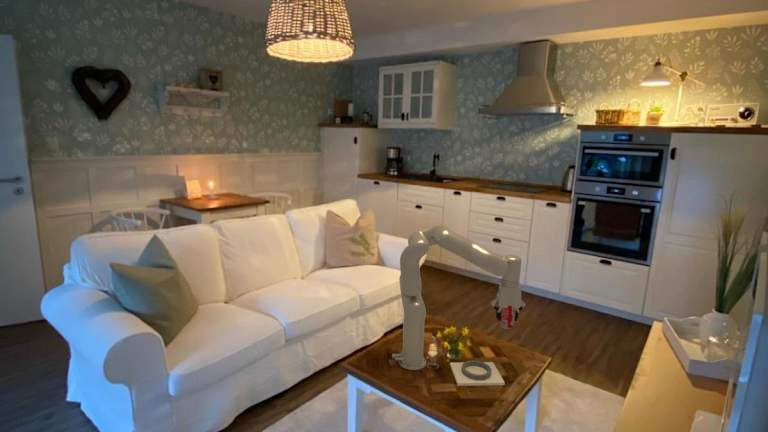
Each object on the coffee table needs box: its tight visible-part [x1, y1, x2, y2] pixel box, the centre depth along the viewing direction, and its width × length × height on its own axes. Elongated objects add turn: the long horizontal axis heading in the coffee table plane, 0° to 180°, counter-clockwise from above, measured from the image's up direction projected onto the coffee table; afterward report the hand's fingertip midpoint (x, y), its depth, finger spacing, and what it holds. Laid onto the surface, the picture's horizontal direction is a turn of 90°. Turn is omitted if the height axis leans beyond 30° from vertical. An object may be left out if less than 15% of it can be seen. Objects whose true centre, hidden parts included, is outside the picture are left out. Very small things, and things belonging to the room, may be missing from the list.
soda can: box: [497, 304, 516, 330], centre depth 185 cm, size 7×7×12 cm
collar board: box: [449, 359, 505, 387], centre depth 178 cm, size 20×16×3 cm
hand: (506, 319), depth 185 cm, fingers closed on soda can, 6 cm apart
